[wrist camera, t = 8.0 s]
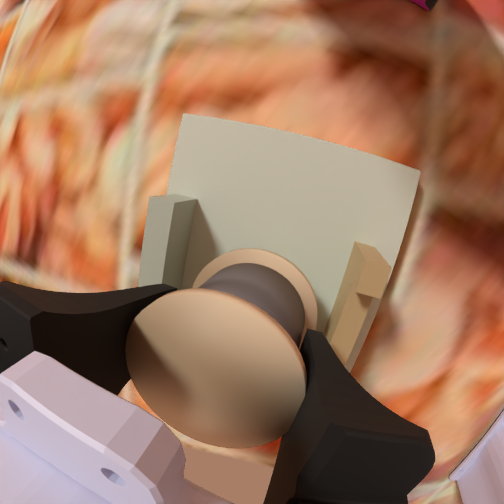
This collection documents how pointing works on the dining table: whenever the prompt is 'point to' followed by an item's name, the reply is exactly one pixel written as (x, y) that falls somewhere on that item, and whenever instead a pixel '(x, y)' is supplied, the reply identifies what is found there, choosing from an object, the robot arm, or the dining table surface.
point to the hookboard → (283, 216)
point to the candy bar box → (425, 3)
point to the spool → (227, 350)
